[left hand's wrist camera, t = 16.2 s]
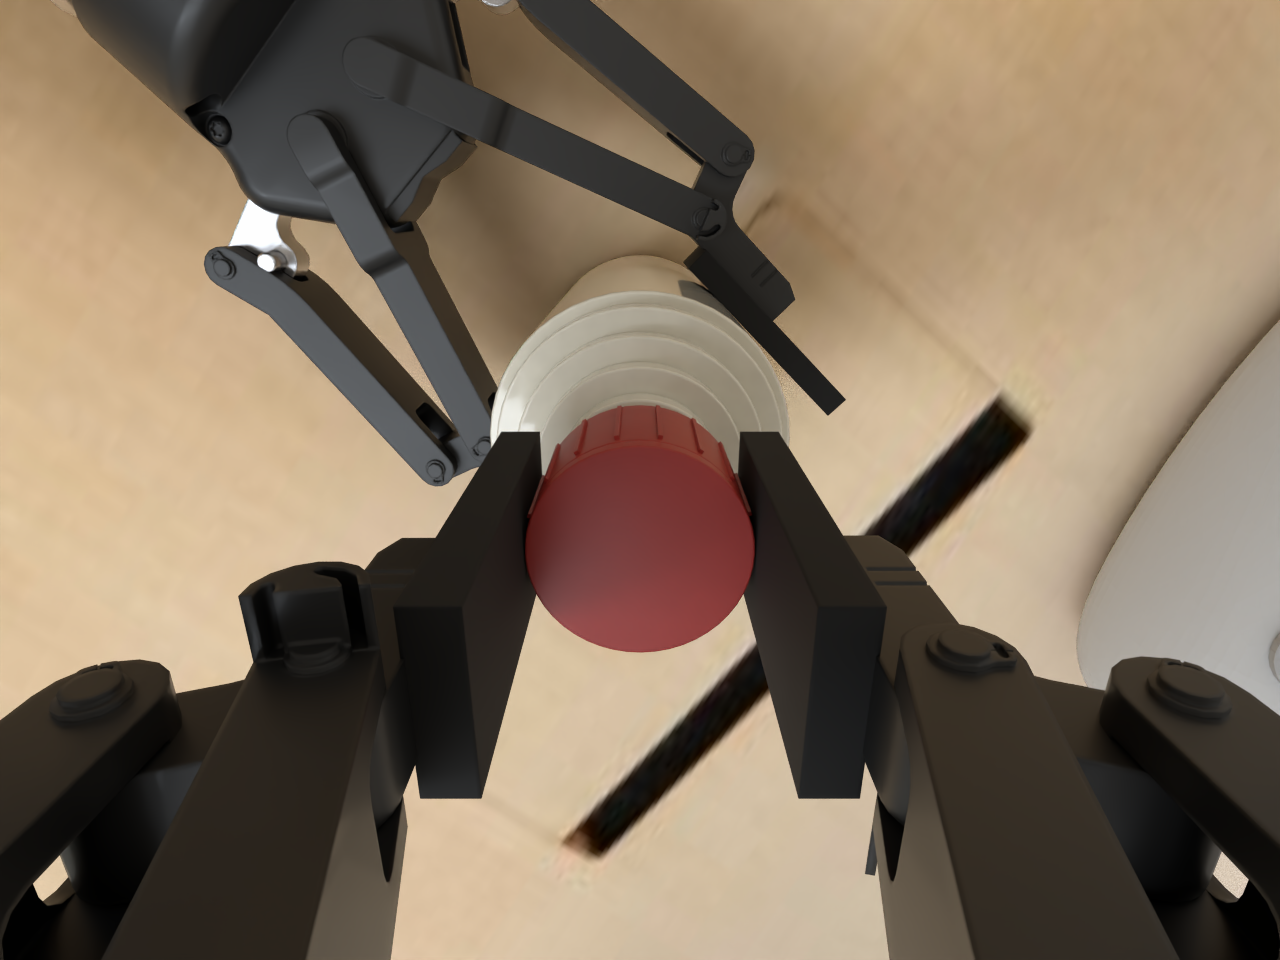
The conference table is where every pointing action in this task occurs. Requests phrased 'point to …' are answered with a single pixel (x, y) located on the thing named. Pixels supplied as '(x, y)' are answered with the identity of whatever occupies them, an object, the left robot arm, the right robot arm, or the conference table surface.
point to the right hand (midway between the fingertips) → (738, 475)
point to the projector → (1203, 547)
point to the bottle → (639, 359)
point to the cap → (639, 531)
